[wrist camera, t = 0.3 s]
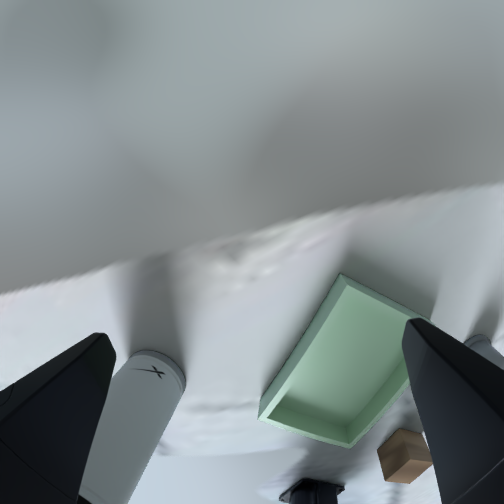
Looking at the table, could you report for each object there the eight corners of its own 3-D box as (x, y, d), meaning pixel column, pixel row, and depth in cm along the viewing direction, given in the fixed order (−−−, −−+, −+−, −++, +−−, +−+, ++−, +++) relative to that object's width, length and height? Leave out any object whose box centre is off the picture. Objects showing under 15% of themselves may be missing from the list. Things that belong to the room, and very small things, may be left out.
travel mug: (163, 338, 26) (31, 511, 6) (197, 394, 27) (118, 571, 7) (116, 353, 27) (-9, 487, 7) (149, 403, 28) (60, 547, 8)
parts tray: (346, 429, 26) (350, 449, 23) (260, 399, 26) (257, 419, 23) (430, 320, 23) (444, 334, 20) (339, 272, 23) (347, 284, 20)
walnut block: (400, 454, 26) (409, 483, 21) (376, 449, 26) (384, 481, 21) (421, 433, 25) (434, 462, 20) (398, 427, 25) (410, 459, 21)
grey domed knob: (471, 377, 23) (491, 402, 18) (447, 366, 23) (468, 394, 19) (495, 342, 22) (519, 364, 17) (472, 328, 22) (498, 351, 17)
